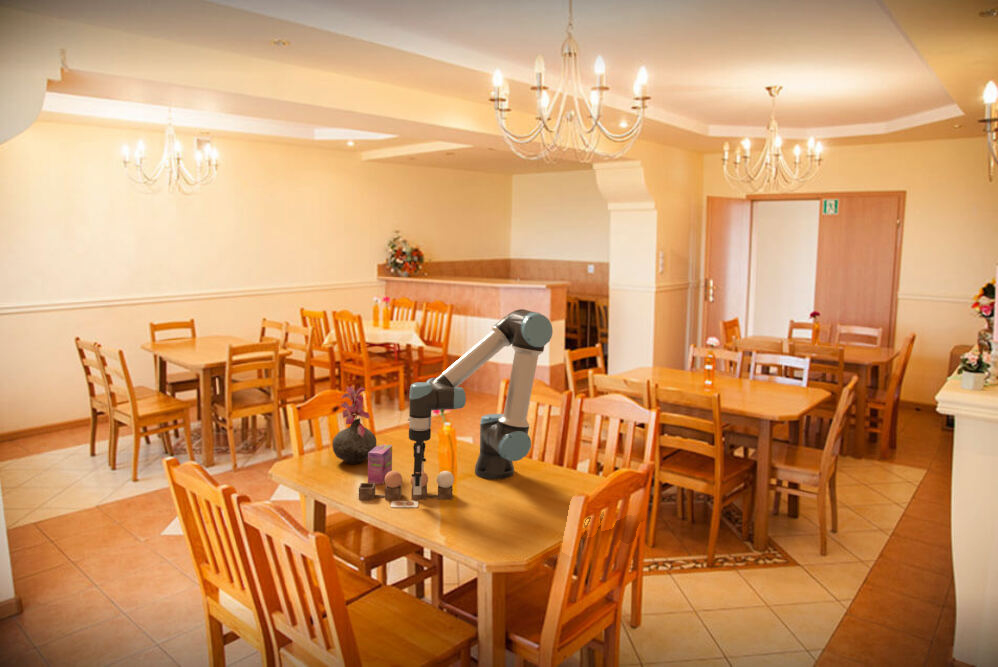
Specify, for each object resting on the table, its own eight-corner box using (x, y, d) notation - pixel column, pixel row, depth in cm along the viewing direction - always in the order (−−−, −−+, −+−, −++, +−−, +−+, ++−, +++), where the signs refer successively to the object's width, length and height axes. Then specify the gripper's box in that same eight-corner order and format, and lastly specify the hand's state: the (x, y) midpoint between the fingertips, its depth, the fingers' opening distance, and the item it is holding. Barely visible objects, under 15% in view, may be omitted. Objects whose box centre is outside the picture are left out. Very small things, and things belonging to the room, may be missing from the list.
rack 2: (452, 494, 232) (452, 483, 231) (452, 499, 227) (452, 488, 226) (412, 494, 231) (412, 483, 230) (411, 499, 226) (411, 488, 225)
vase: (356, 452, 274) (356, 381, 270) (386, 461, 264) (386, 388, 260) (324, 462, 261) (323, 388, 256) (354, 472, 251) (354, 395, 246)
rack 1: (401, 493, 231) (401, 483, 230) (399, 499, 226) (399, 488, 225) (360, 493, 230) (360, 482, 229) (358, 499, 225) (358, 488, 224)
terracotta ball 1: (402, 484, 231) (402, 468, 230) (401, 491, 225) (401, 474, 224) (385, 484, 230) (385, 468, 229) (383, 491, 224) (383, 474, 223)
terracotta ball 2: (428, 484, 231) (428, 468, 230) (427, 491, 225) (427, 474, 224) (411, 484, 231) (411, 468, 230) (410, 491, 225) (410, 474, 224)
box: (382, 484, 239) (382, 453, 237) (367, 483, 240) (367, 452, 238) (392, 475, 249) (392, 445, 247) (378, 473, 250) (378, 443, 248)
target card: (418, 501, 224) (418, 500, 224) (417, 507, 219) (417, 506, 219) (391, 501, 223) (391, 500, 223) (390, 507, 219) (390, 506, 218)
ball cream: (453, 484, 232) (454, 468, 231) (453, 491, 226) (454, 474, 225) (436, 484, 231) (437, 468, 230) (436, 491, 225) (436, 474, 225)
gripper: (411, 417, 237) (410, 474, 240) (405, 438, 212) (404, 500, 215) (432, 418, 238) (430, 474, 240) (429, 438, 213) (427, 501, 216)
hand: (418, 487), depth 228 cm, fingers open, 13 cm apart
